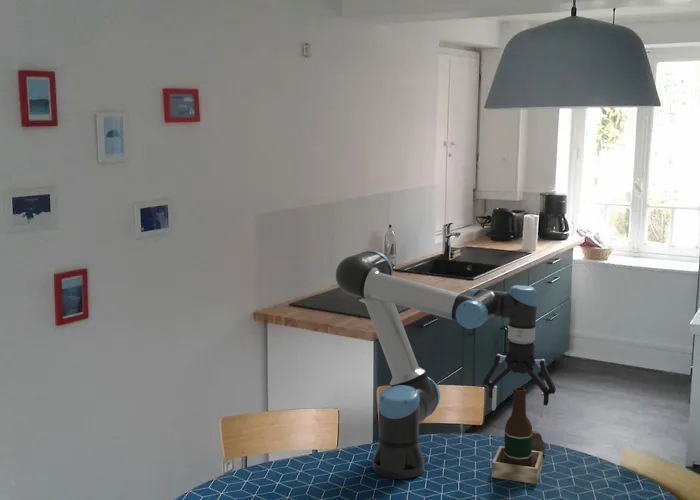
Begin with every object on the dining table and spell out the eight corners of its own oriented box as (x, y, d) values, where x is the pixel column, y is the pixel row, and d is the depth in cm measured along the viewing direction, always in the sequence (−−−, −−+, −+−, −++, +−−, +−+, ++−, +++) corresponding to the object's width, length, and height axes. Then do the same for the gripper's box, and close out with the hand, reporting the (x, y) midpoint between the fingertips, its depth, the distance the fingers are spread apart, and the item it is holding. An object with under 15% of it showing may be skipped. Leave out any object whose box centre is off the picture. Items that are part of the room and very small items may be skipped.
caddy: (491, 477, 213) (492, 462, 212) (499, 459, 224) (499, 445, 224) (536, 484, 208) (537, 469, 208) (542, 466, 220) (542, 451, 219)
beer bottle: (531, 475, 212) (534, 394, 209) (504, 473, 214) (506, 392, 210) (530, 463, 220) (532, 385, 216) (503, 461, 221) (505, 383, 218)
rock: (553, 460, 227) (537, 447, 236) (556, 433, 226) (539, 421, 235) (509, 461, 223) (495, 448, 233) (512, 434, 222) (498, 422, 232)
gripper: (474, 338, 212) (471, 410, 215) (565, 348, 203) (561, 423, 206) (480, 332, 219) (477, 401, 222) (568, 342, 210) (563, 414, 213)
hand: (517, 412), depth 214 cm, fingers open, 13 cm apart
